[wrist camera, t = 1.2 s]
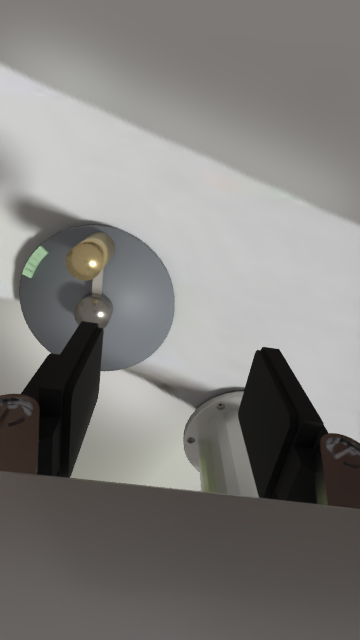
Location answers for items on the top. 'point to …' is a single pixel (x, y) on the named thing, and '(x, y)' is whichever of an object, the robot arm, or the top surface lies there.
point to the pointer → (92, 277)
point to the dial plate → (118, 285)
